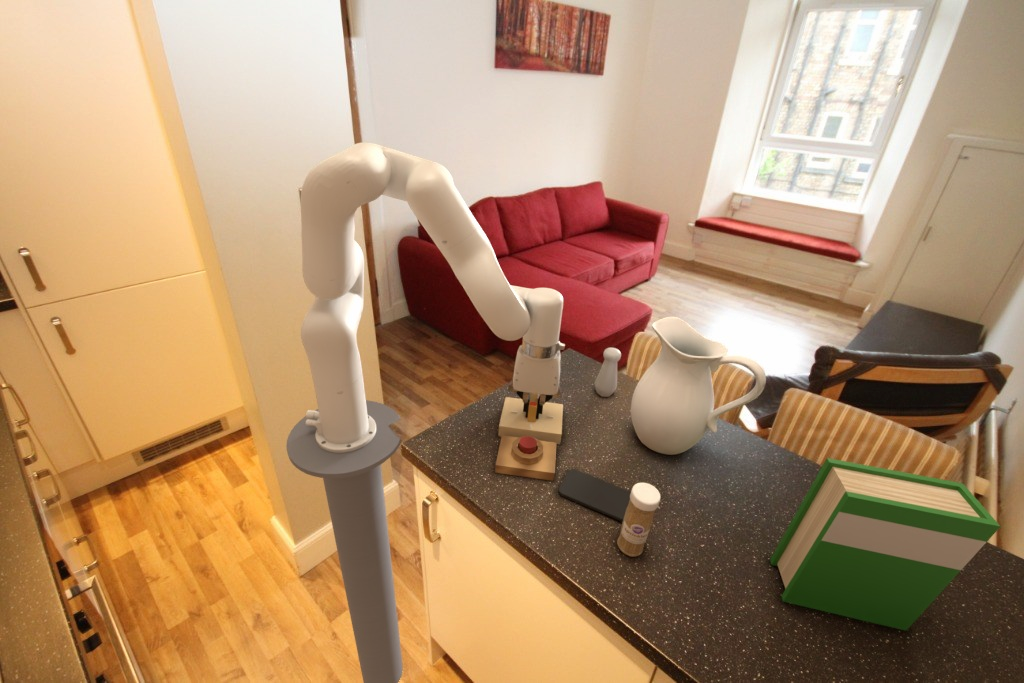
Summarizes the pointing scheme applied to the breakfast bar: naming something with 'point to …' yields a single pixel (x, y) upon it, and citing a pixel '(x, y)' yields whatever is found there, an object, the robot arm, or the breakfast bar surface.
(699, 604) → the breakfast bar surface
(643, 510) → the sprinkles bottle
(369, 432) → the robot arm
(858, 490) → the hardback book
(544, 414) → the dial plate
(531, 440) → the bell button
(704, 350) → the pitcher
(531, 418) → the red-tipped yellow block
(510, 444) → the wooden button base
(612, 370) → the salt shaker
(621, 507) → the phone
